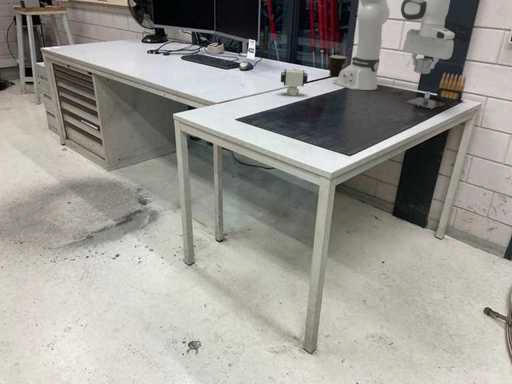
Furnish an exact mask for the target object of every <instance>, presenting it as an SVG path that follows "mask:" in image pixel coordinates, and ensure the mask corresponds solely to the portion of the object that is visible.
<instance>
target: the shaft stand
mask: <svg viewBox="0 0 512 384" xmlns="http://www.w3.org/2000/svg"><path fill="white" fill-rule="evenodd" d="M430 96H431V91H425V94H424V97H421V96H420V97H416V98H413V99H410V100H406V102H405V103H406V104H408V103H409V105H412V104H413V105H412V106H415V105H417V107H419V106H422V107H421V108H423V107H426V108H425V109H427V108H430V109H429V110H431V109H432V110H434V109H433V108H435V107H438V106H440V107H442V106H441V105H443V106H445V105H444V104H446V103H445V102H441V101H436V100H433V99H430ZM438 108H439V107H438ZM435 109H436V108H435Z"/></svg>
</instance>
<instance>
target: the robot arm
mask: <svg viewBox="0 0 512 384" xmlns="http://www.w3.org/2000/svg"><path fill="white" fill-rule="evenodd" d="M359 1H360V3H361V6H362V7H361V8H360V9H359V12H358V13H357V20H358V23H357V24H358V25H357V26H358V27H357V28H358V30H357V31H358V32H357V33H358V39H357V40H358V41H357V48H356V54H355V56H354V57H350V61H352V62H351V64H349V65H348V66H345V68H344V67H343V70H341V72H340V74H339V77H337V78H336V79H334V80H333V82H332V83H334V84H335V85H338V86H341V87H344V88H347V89H350V90H362V91H365V90H366V91H373V90H376V89H377V90H378V83H377V82H378V70H379V65H380V55H381V49H382V42H383V40H382V39H383V38H382V36H383V35H382V32H383V31H382V29H383V25H384V24H385V23H386V22H387V21H388V19H389V17H390V7H389V6H388V2H387V0H359ZM450 3H451V0H402V3H401V6H400V13H401V16H402V17H403V18H404V19H406V20H407V21H421V22H420V28H419V29H415V28H411V29H409V30H408V31H407V32H406V35H405V40H404V43H403V47H402V51H403V52H404V53H408V54H411V59H412V66H415V63H416V59H417V57H418V55H419V56H425V57H431V58H433V59H432V64H429V68H430V69H431V70H433V69H434V68H435V65H436V64H437V63H438V62H439V60H440V59H441V60H449V59H450V58H451V57H452V55H453V51H454V44H455V43H454V40H453V39H454V38H455V35H456V34H455V33H454V32H453V31H451V30H449V29H447V28H446V27H445V25H446V24H445V23H446V17H447V16H448V13H449V8H450Z"/></svg>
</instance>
